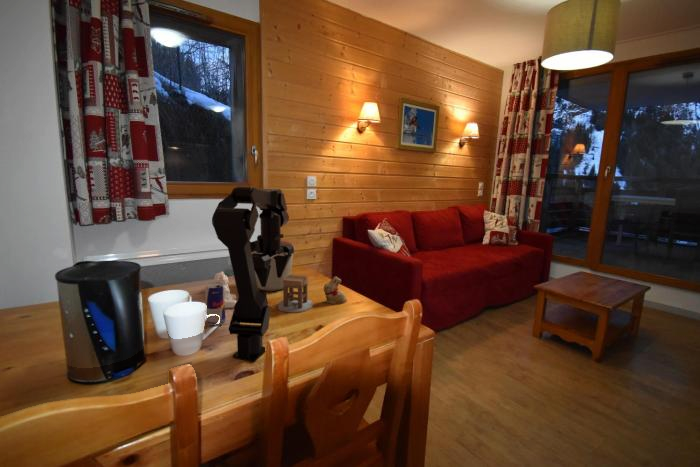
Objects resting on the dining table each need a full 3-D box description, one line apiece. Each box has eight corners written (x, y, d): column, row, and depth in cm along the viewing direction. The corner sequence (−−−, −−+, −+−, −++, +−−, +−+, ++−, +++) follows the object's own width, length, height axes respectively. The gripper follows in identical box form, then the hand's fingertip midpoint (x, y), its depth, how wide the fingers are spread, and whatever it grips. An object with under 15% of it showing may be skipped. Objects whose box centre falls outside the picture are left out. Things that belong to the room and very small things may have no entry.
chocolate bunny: (327, 297, 125) (328, 272, 123) (348, 300, 123) (348, 274, 121) (322, 303, 120) (322, 276, 118) (343, 306, 118) (344, 278, 116)
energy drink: (219, 327, 100) (217, 288, 98) (203, 324, 101) (200, 287, 99) (229, 319, 106) (227, 282, 103) (213, 317, 107) (211, 281, 104)
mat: (304, 314, 110) (303, 313, 110) (271, 309, 113) (271, 308, 113) (318, 301, 121) (318, 300, 121) (288, 297, 125) (288, 295, 125)
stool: (301, 308, 114) (301, 281, 112) (283, 306, 115) (283, 279, 113) (307, 301, 120) (307, 275, 118) (290, 299, 121) (290, 274, 119)
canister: (245, 282, 139) (243, 232, 135) (287, 277, 147) (287, 230, 143) (255, 297, 123) (253, 241, 119) (301, 290, 132) (301, 238, 128)
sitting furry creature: (240, 308, 114) (238, 274, 112) (212, 312, 110) (211, 277, 108) (235, 298, 123) (234, 266, 120) (210, 302, 119) (208, 269, 116)
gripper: (263, 224, 110) (264, 270, 113) (227, 235, 93) (229, 288, 96) (294, 227, 107) (294, 274, 110) (262, 238, 89) (264, 293, 92)
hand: (271, 282), depth 102 cm, fingers open, 9 cm apart
